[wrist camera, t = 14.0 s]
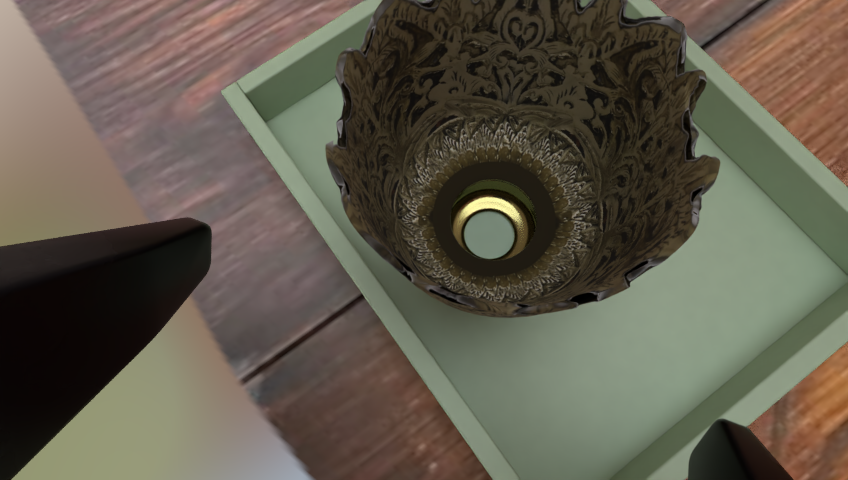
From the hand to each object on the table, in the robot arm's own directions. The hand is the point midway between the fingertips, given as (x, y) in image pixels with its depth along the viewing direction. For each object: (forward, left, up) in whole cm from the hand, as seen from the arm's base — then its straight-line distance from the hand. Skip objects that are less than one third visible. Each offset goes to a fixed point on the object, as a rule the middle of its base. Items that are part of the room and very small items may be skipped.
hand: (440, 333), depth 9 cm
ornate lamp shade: (+4, +1, -8) cm, 9 cm away
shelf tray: (+6, +1, -9) cm, 11 cm away
